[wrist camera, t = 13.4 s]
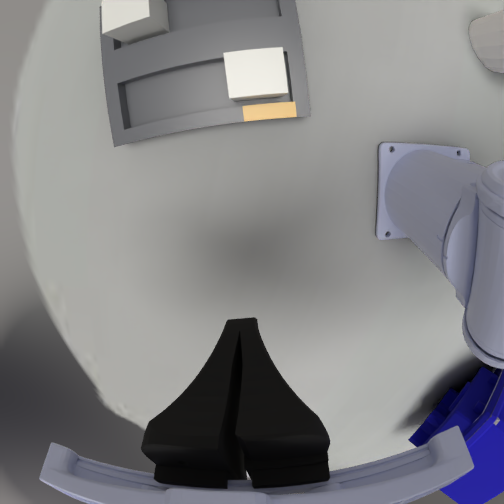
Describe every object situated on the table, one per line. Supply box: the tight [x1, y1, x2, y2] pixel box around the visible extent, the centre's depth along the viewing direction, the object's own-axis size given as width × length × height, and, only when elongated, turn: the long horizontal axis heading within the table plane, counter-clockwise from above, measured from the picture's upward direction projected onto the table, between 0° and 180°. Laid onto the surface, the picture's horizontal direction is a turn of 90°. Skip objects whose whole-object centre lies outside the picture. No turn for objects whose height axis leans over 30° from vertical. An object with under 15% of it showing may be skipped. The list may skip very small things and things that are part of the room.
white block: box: [223, 47, 288, 102], centre depth 14 cm, size 3×3×4 cm
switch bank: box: [100, 0, 311, 147], centre depth 14 cm, size 13×11×2 cm
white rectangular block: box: [102, 0, 170, 45], centre depth 11 cm, size 3×3×4 cm
